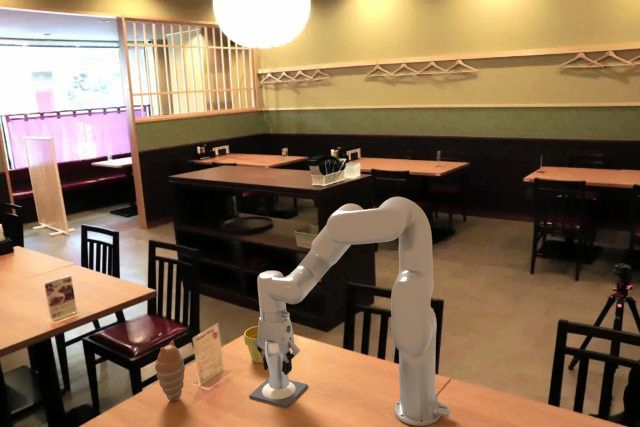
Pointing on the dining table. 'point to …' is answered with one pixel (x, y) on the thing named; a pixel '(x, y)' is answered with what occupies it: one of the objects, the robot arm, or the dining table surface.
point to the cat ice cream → (170, 371)
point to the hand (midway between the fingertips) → (277, 369)
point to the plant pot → (249, 338)
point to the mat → (278, 393)
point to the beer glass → (275, 366)
